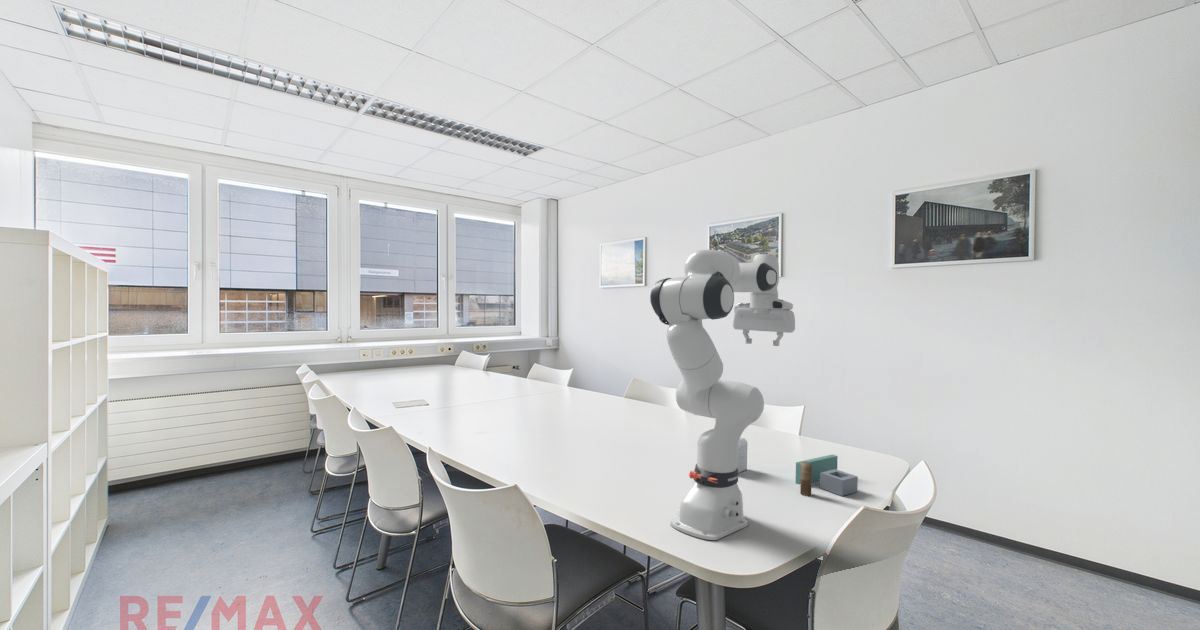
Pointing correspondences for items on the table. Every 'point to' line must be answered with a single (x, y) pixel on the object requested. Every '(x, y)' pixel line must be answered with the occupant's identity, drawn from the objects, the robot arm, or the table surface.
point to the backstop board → (818, 466)
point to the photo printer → (742, 455)
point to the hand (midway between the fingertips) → (762, 344)
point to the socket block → (838, 482)
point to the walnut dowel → (806, 478)
